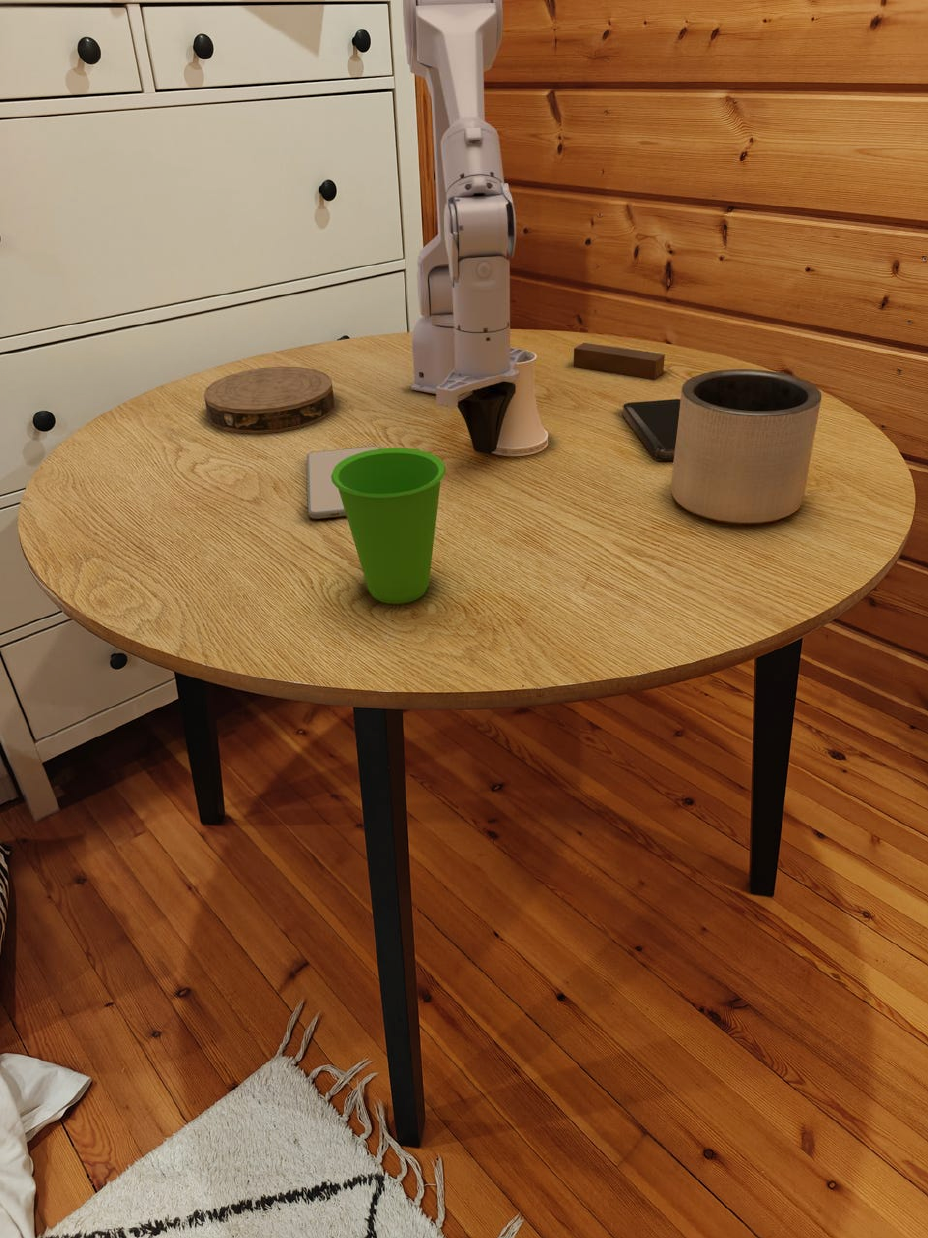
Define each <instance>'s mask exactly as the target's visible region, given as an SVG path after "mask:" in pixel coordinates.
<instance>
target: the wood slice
mask: <svg viewBox="0 0 928 1238" xmlns="http://www.w3.org/2000/svg"><path fill="white" fill-rule="evenodd" d="M203 399H204V404H205V408H206V413H207V418H208V421H209V422H210V423H211V424H212V426H214V427H216V428H218V429H221V430H222V431H227V432H233V433H237V434H256V435H257V434H260V435H261V434H271V433H281V432H287V431H291V430H296V429H301V428H305V427H307V426H310V425H313V424H315V423H318V422H320V421H321V420H323V419H324V418H327V417H328V416H329V415H330V414H332V412H333V411H334V410H335V398H334V389H333V380H332V378H331V377H330V376H329V375H328V374H327V373H326V372H324V371H320V370H317V369H315V368H307V367H301V366H271V367H260V368H254V369H249V370H244V371H240V372H239V371H238V372H236V373H232V374H229V375H226V376H223V377H221V378H220V379H219V378H218V379H217V380H215V381H213V382H212V383H210V385H208V386H207V387H206V388H205V390H204V393H203Z"/></svg>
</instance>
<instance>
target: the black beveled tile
mask: <svg viewBox="0 0 928 1238" xmlns="http://www.w3.org/2000/svg"><path fill="white" fill-rule="evenodd" d="M680 401H681V398H674V399H673V398H672V399H670V398H669V399H660V400H645V401H644V400H643V401H633V402H631V401H630V402H626V403H624V404H622V416H623V417H624V419H625V420H626V422H627V423H628V425H629V426H630V427H631V428H632V430H633V431H634V433H635V434H636V435H637V437H638V438H639V440H640V441H641V443H642V444H643V445H644V447H645V448H646V450H647V451H648V453H649V454H650V455H651V457H652V458H653V459H655V460H657V461H674V454H675V446H676V438H677V429H678V420H679V411H680Z"/></svg>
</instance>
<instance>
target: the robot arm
mask: <svg viewBox="0 0 928 1238" xmlns="http://www.w3.org/2000/svg"><path fill="white" fill-rule="evenodd" d="M503 10H504V9H503V0H402V14H403V15H402V16H403V31H404V40H405V41H404V42H405V50H406V51H405V52H406V62H407V65H409V73H411V74H414V75H415V76H418V77H420V78H422V79H424V80H425V82H426V85H427V89H428V92H429V95H430V98H431V99H430V100H431V113H432V116H431V117H432V134H433V137H432V138H433V150H434V152H433V154H434V155H433V156H434V157H433V158H434V175H435V176H434V177H435V195H436V197H435V198H436V215H437V216H436V217H437V235H436V236H434V238H432V239H431V240H430V241H429V242H428V243H427V244H426V245H425V246H423V248H422V249H420V251H419V252H418V256H417V259H416V262H417V271H416V282H417V285H416V286H417V300H418V307H419V308H418V310H419V314H420V315H421V317H420V318H419V319H418V320H417V322H416V323H415V325H414V328H413V331H412V336H411V350H412V364H413V381H414V383H413V384H412V385H410V388H411V390H413V391H418V392H422V393H423V392H424V393H429V394H434V395H435V397H436V398H435V399H436V406H437V407H441V408H446V409H451V410H454V409H456V408H457V409H458V410H459V412H460V415H461V416H462V418H463V420H464V422H465V425H466V428H467V431H468V434H469V437H470V441H471V444H472V448H473V451H474V452H476V453H477V452H478V453H481V454H486V455H491V454H493V453H492V452H494V451H495V450H496V447H497V443H498V439H499V435H500V430H501V426H502V422H503V419H504V416H505V413H506V410H507V408H508V405H509V403H510V401H511V399H512V397H513V396H514V394H515V392H516V385H515V384H514V383H510V382H512V381H514V380H516V379H518V378H519V377H520V372H519V371H518V370H515V369H516V363H520V362H526V351H527V350H526V349H523V348H522V349H521V348H515V347H511V269H510V268H511V262H510V259H509V258H513V257H514V255H515V250H516V243H517V215H516V210H515V204H514V200H513V199H514V198H513V196H512V193H511V192H510V191H511V190H510V186H509V183H508V182H507V183H506V182H505V178H504V169H503V161H502V153H501V145H500V137H499V134H498V131H497V130H496V128H494V126H493V125H491V124H490V123H488V122H487V121H486V118H485V114H486V113H485V79H484V78H485V77H484V73H485V72H487V71H489V70H491V69H492V67H493V64H494V61H495V60H496V58H497V54H498V51H499V48H500V46H501V44H502V39H503V30H504V29H503V26H504V12H503ZM507 256H509V257H507ZM510 363H512V364H510Z"/></svg>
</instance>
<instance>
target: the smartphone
mask: <svg viewBox="0 0 928 1238" xmlns="http://www.w3.org/2000/svg"><path fill="white" fill-rule="evenodd" d="M375 449H381V447H380V446H377V445H371V446H370V445H369V446H359V447H349V448H338V449H327V450H317V451H311V452H309V453H307V455H306V482H307V484H306V485H307V486H306V487H307V513H308V517H310V518H312V519H315V520H316V519H317V520H318V519H327V518H337V517H347V516H346V513H345V509H344V506H343V503H342V499H341V496H340V493H339V489H338V488H337V487H336V486H335V485H334V484H333V483H332V479H331V475H332V472H333V470H334V468H335V467H336V465H337V464H338V463H339V462H341V461H343V460H344V459H346V458H348V457H350V456H352V455H355V454H357V453H361V452H365V451H369V450H375Z"/></svg>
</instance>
